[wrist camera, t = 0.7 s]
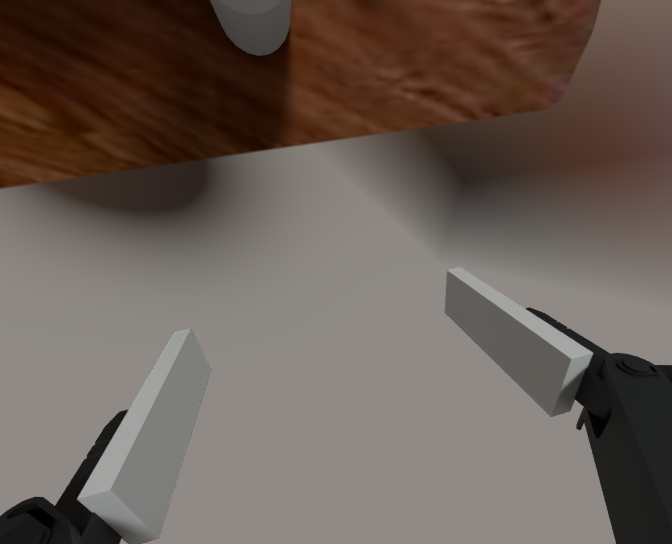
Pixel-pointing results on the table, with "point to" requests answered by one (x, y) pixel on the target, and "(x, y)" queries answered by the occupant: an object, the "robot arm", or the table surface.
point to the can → (254, 23)
